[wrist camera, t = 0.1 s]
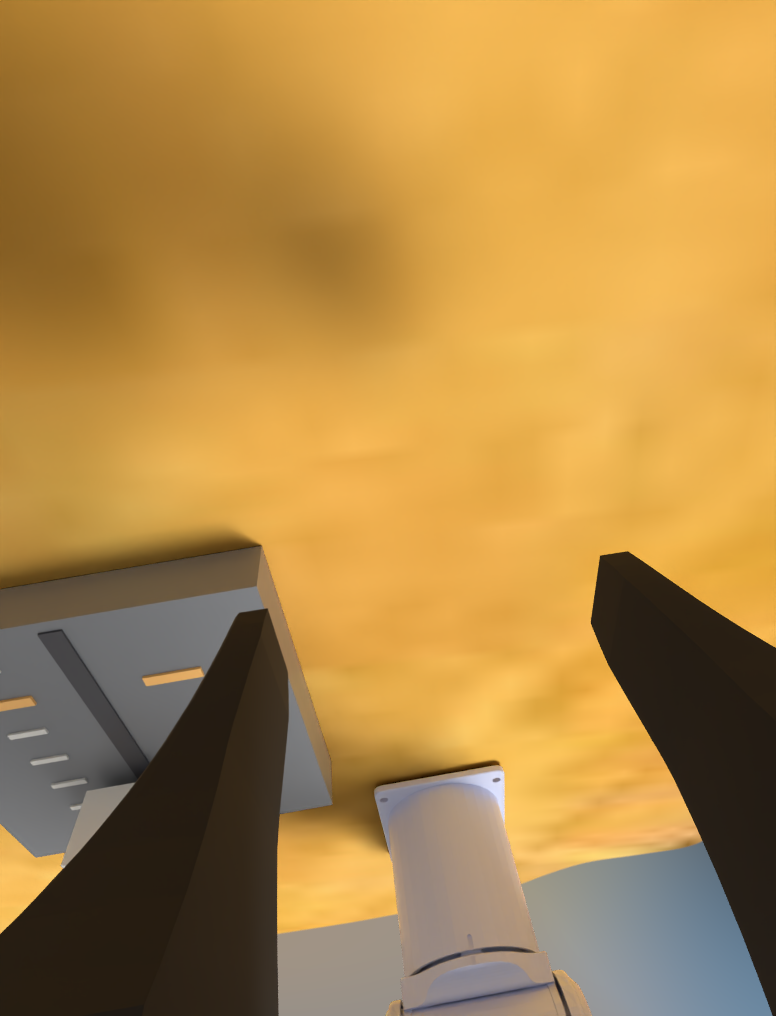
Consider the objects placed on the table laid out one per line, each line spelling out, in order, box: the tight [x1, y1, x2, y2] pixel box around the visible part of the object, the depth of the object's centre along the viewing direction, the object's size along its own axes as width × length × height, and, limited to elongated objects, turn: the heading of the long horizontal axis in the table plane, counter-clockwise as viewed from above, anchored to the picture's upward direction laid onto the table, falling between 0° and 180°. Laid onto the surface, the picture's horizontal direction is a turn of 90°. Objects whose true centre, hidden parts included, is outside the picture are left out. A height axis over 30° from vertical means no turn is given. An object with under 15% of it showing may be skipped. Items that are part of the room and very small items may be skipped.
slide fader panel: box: [0, 546, 333, 857], centre depth 26 cm, size 16×16×3 cm
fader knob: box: [61, 783, 135, 868], centre depth 26 cm, size 4×5×4 cm
